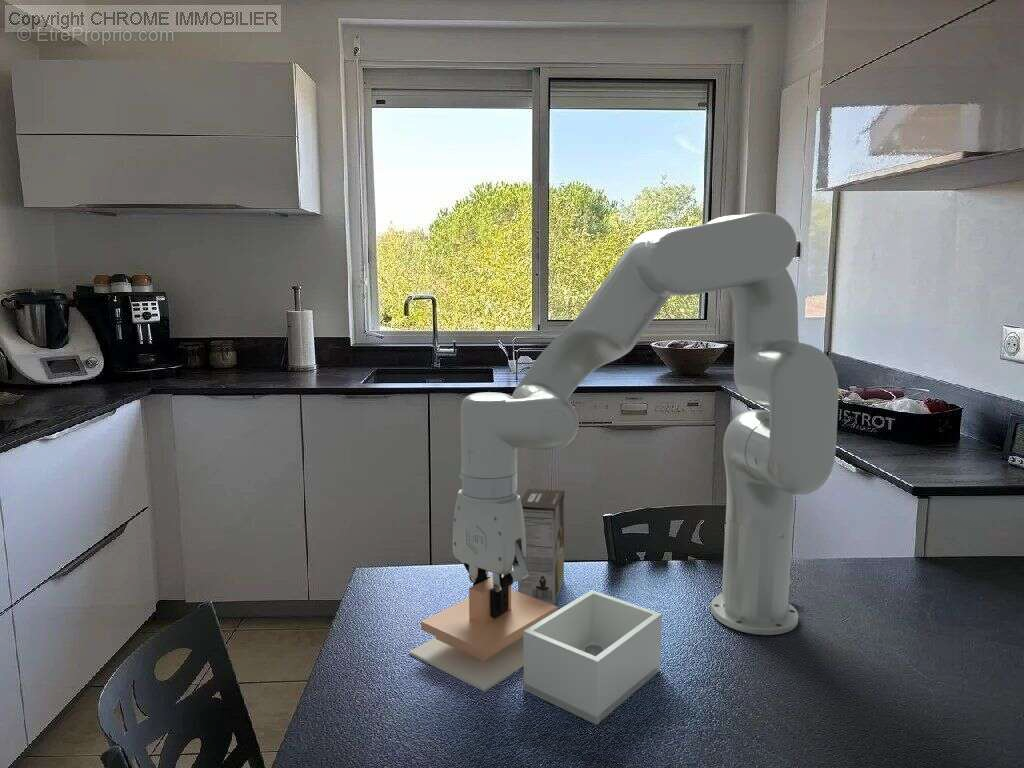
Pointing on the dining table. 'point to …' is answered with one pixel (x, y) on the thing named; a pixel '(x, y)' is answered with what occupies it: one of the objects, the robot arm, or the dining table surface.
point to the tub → (592, 654)
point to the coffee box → (543, 544)
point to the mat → (472, 662)
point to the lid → (486, 621)
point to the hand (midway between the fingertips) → (490, 609)
